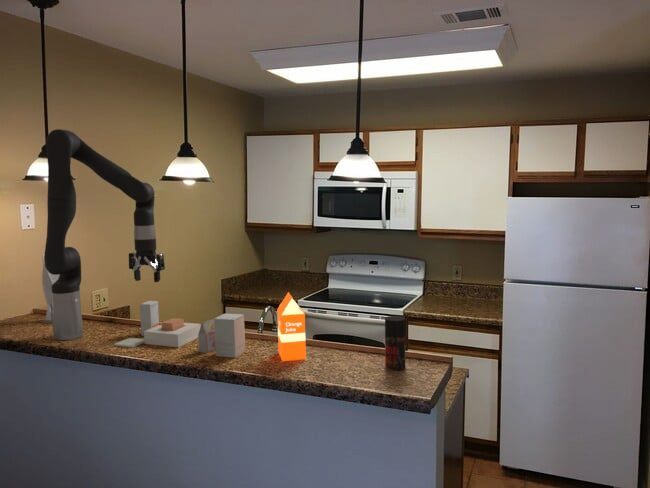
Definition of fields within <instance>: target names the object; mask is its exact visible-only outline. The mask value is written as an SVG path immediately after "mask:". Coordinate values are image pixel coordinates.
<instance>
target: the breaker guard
mask: <svg viewBox="0 0 650 488" xmlns="http://www.w3.org/2000/svg"><path fill="white" fill-rule="evenodd" d="M200 327H201V323H192V322H184V327H182V328H179V329H177V330H175V331H165V330H162V325H161V324H159V325H158V326H156V327H153V328H151V329H148V330H146V331H144V336H143V339H144V340H145V343H144V345H150V346H151V345H153V346H162V347H163V346H164V347H171V348H173V347H174V348H180V347H183V346H184V345H186V344H187V343H190V342H192V341H194V340H196V339H198V333H199V330H200Z"/></svg>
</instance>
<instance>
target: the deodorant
mask: <svg viewBox="0 0 650 488" xmlns="http://www.w3.org/2000/svg"><path fill="white" fill-rule="evenodd" d="M384 338H385V339H384V349H385V350H384V353H385V354H384V357H385V360H384V363H385V364H384V366H385V367H384V368H385V369H386V370H388V371H392V372H399V371H400V372H401V371H404V370H405V369H406V317H404V316H400V315H388V316H385V318H384Z"/></svg>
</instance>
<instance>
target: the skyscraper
mask: <svg viewBox="0 0 650 488" xmlns="http://www.w3.org/2000/svg"><path fill="white" fill-rule="evenodd" d="M44 255H45V253H43V254H42V257H41V258H42V273H41V282H42V289H43V290H42V291H43V295H44V298H45V301H46V304H47V306H46V307H47V308H46V314H45V320H42V321H41V323H42V324H49V325H52V312H54V311H53V299H52V285H53V284H54V283H55V282H56V281H57V280H58V278H59V275H60V274H58V275H53V274H51V273H49V272H48V271H47V269H46V267H45V263H44Z"/></svg>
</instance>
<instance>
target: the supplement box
mask: <svg viewBox="0 0 650 488" xmlns="http://www.w3.org/2000/svg"><path fill="white" fill-rule="evenodd" d="M213 319H214V326H215V345H216V350H215V356H216V357H223V358H230V359H231V358H233V359H234V358H235V359H236V358H238V357H239V356H241V355H243V354H244V353H246V351H247V350H246V337H245V336H246V335H245V333H246V332H245V315H244V314H240V313H227V312H226V313H222V314H221V315H218V316H217V317H215V318H213Z"/></svg>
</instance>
